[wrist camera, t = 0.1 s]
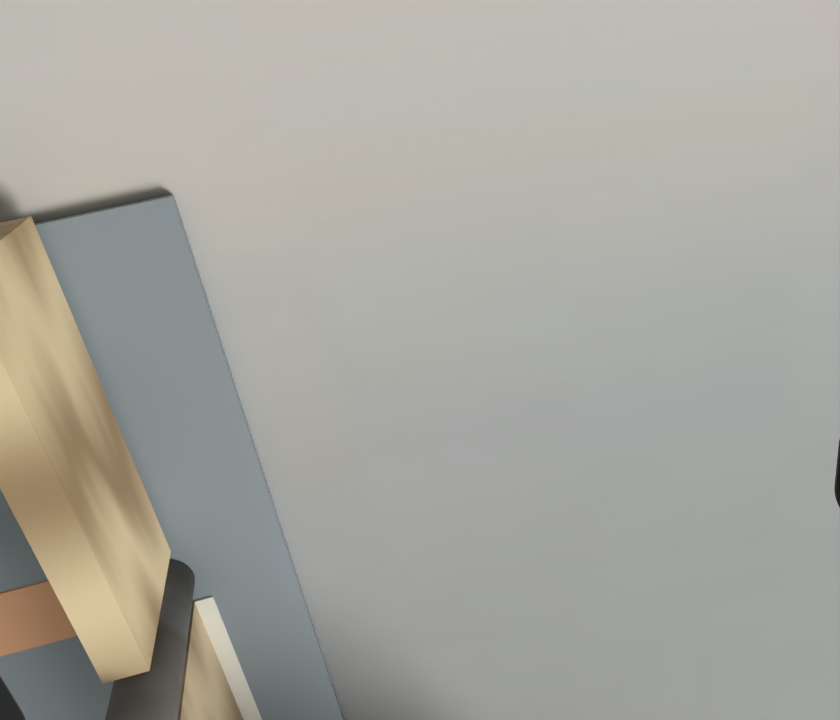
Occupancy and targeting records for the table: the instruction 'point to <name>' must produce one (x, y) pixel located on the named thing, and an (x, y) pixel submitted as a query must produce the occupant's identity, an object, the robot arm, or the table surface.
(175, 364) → the card
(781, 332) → the table surface
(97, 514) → the fence panel
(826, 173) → the table surface
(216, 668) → the fence base
